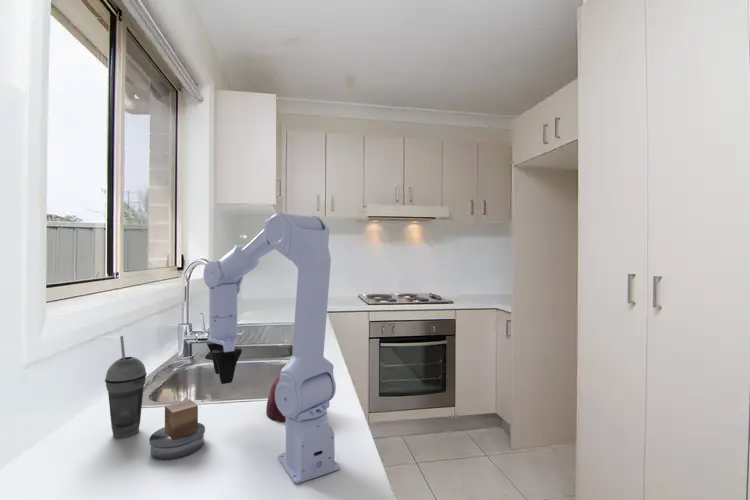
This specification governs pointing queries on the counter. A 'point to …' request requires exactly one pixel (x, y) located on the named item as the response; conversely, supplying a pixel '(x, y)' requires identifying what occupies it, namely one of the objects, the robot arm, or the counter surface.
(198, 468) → the counter surface
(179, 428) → the walnut block
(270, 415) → the vegetable
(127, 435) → the beverage cup
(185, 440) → the grey tin
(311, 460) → the robot arm
